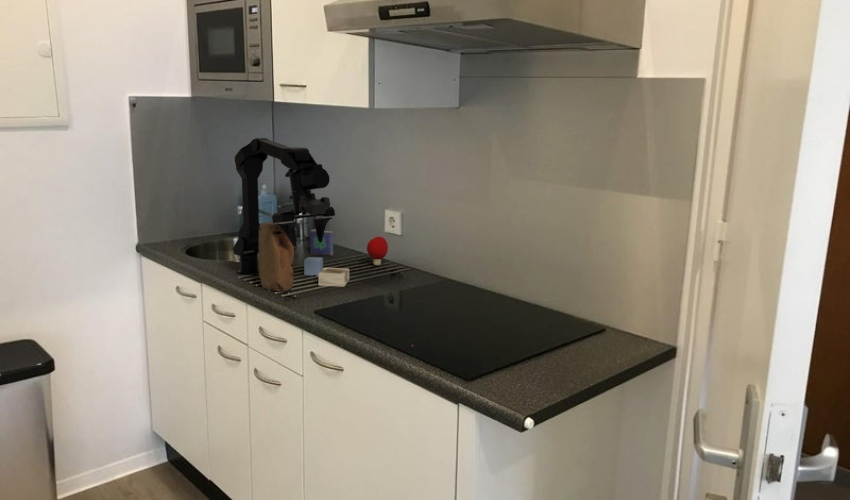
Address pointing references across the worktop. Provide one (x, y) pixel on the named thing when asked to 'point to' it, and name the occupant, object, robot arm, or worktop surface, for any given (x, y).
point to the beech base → (334, 277)
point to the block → (275, 258)
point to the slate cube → (313, 266)
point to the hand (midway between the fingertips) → (307, 244)
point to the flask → (321, 243)
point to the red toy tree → (377, 249)
